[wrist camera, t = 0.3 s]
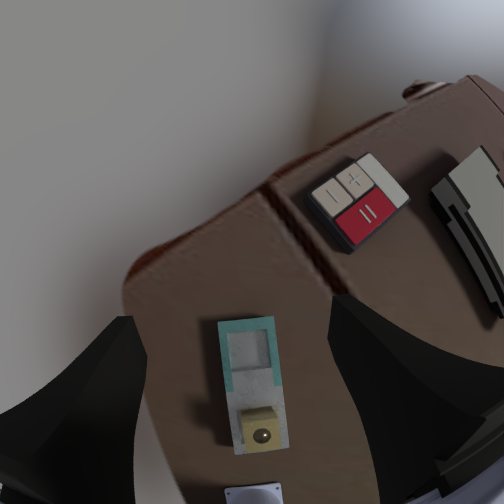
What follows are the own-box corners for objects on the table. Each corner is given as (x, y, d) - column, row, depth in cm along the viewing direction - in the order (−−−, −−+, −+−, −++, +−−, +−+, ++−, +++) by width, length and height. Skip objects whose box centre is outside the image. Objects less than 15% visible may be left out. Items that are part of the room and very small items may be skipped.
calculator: (306, 191, 40) (370, 148, 43) (301, 203, 45) (362, 161, 47) (356, 249, 38) (414, 197, 41) (346, 257, 42) (402, 207, 45)
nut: (274, 432, 32) (281, 448, 26) (244, 436, 32) (246, 453, 26) (271, 406, 33) (277, 417, 28) (240, 410, 33) (241, 422, 27)
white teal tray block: (285, 440, 33) (289, 447, 30) (235, 447, 32) (235, 454, 30) (270, 317, 38) (273, 315, 35) (218, 323, 37) (217, 322, 35)
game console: (496, 331, 39) (525, 326, 31) (420, 198, 46) (444, 177, 38) (526, 274, 43) (549, 265, 35) (462, 163, 50) (481, 144, 42)
